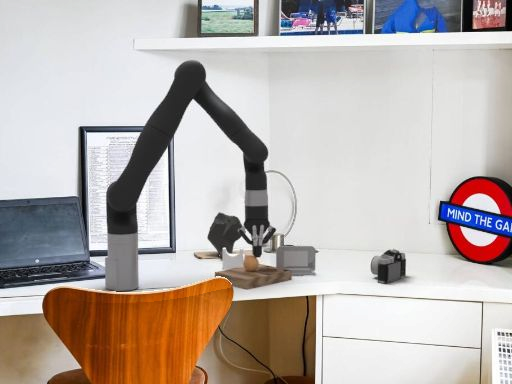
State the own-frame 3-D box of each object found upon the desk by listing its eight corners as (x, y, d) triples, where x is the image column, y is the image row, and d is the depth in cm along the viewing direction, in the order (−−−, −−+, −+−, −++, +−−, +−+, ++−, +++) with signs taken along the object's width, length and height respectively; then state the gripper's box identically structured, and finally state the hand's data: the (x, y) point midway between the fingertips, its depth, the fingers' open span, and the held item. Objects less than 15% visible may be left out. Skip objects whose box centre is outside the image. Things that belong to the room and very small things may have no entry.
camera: (387, 273, 229) (388, 244, 228) (411, 276, 223) (412, 247, 222) (363, 280, 217) (364, 249, 216) (388, 284, 211) (388, 253, 211)
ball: (247, 260, 212) (261, 266, 213) (247, 250, 216) (261, 256, 218) (240, 271, 215) (254, 276, 216) (240, 261, 219) (254, 266, 220)
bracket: (242, 270, 233) (242, 249, 233) (222, 270, 234) (222, 248, 233) (245, 263, 246) (245, 243, 246) (225, 263, 247) (226, 242, 246)
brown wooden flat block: (246, 289, 204) (246, 279, 204) (214, 281, 215) (214, 272, 214) (291, 279, 218) (291, 270, 217) (259, 272, 228) (259, 263, 228)
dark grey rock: (244, 254, 262) (244, 208, 261) (244, 262, 247) (244, 213, 245) (208, 254, 262) (208, 208, 260) (206, 262, 247) (206, 213, 245)
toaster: (312, 270, 233) (312, 242, 232) (315, 276, 224) (315, 246, 223) (274, 270, 233) (274, 242, 232) (276, 276, 223) (276, 246, 223)
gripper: (238, 205, 210) (239, 260, 211) (279, 204, 213) (280, 257, 214) (233, 203, 217) (234, 256, 219) (273, 201, 220) (274, 253, 222)
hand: (257, 256), depth 216 cm, fingers closed
